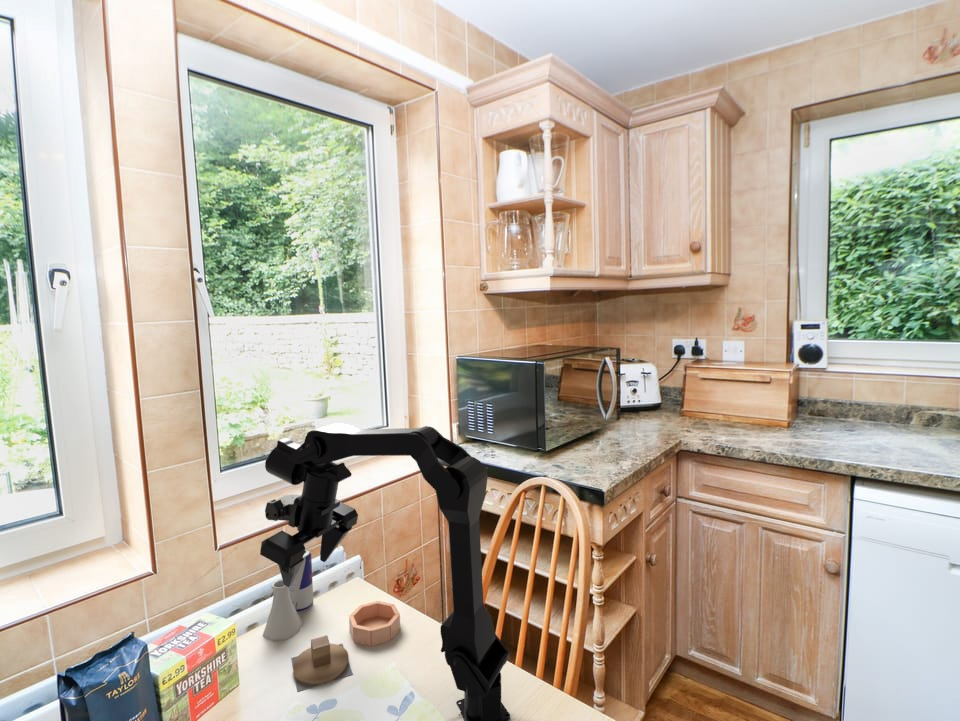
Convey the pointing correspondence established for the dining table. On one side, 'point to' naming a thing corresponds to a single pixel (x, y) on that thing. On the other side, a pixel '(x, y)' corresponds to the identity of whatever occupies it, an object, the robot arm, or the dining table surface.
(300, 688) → the mat
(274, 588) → the flask
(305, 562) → the energy drink
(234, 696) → the dining table surface
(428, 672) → the dining table surface
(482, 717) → the robot arm
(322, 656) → the lid
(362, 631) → the bowl
